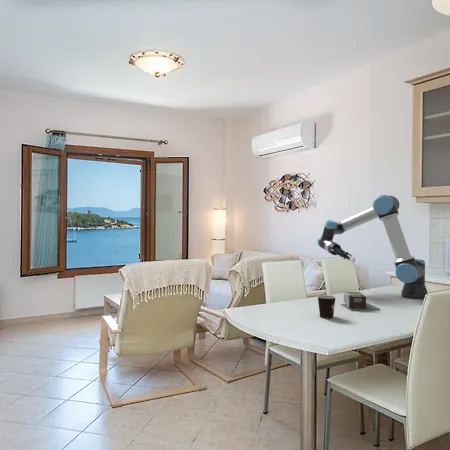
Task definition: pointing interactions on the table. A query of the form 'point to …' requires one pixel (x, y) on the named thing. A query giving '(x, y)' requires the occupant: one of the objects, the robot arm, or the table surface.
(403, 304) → the table surface
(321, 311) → the coffee mug
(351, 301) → the coffee box
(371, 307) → the mat
